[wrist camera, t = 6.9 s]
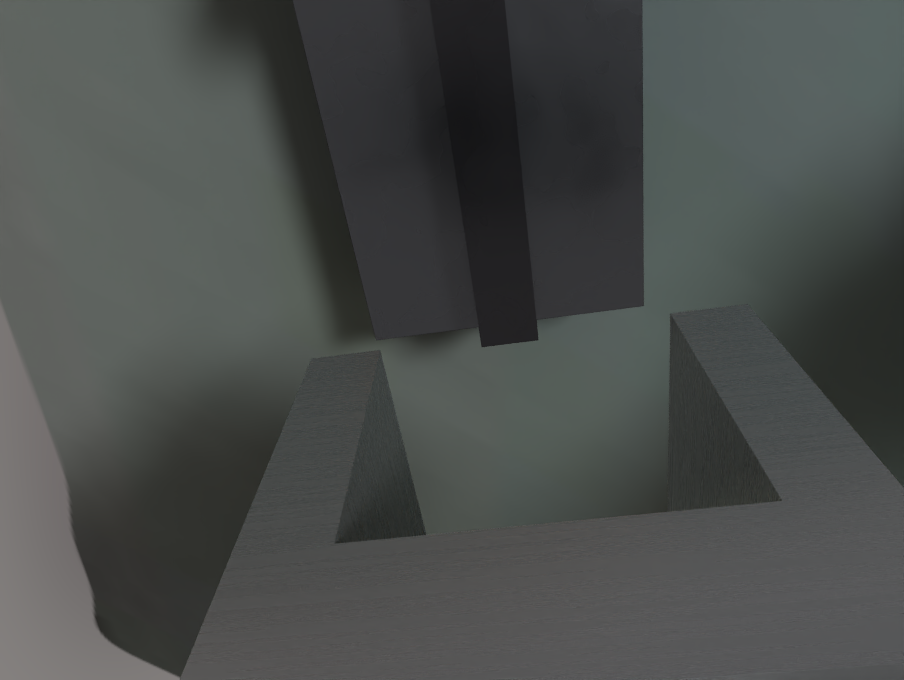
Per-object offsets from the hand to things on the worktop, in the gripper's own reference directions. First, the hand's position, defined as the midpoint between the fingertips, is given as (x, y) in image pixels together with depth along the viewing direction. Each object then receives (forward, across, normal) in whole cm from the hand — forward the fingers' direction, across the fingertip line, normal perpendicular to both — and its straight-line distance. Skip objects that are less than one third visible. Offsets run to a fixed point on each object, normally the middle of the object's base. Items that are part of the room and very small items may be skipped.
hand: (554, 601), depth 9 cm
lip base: (+19, 0, -4) cm, 19 cm away
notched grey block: (+2, 0, 0) cm, 2 cm away
